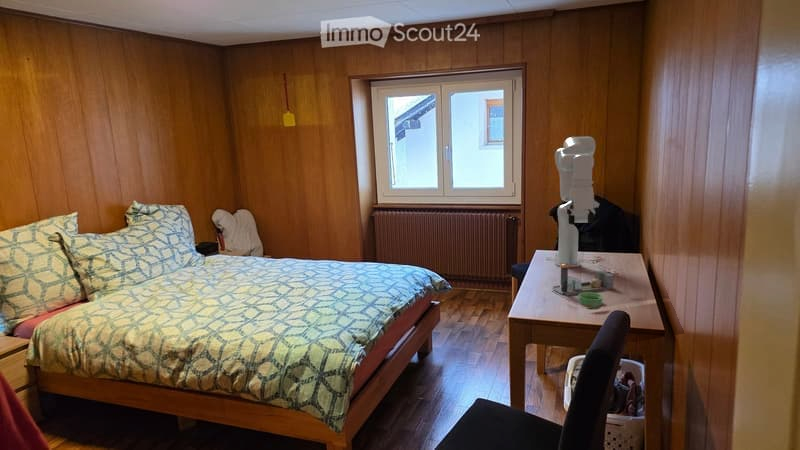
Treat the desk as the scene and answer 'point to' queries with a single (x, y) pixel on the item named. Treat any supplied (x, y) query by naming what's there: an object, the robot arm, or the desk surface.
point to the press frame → (606, 285)
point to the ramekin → (590, 299)
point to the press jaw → (567, 281)
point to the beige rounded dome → (596, 283)
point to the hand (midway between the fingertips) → (581, 223)
